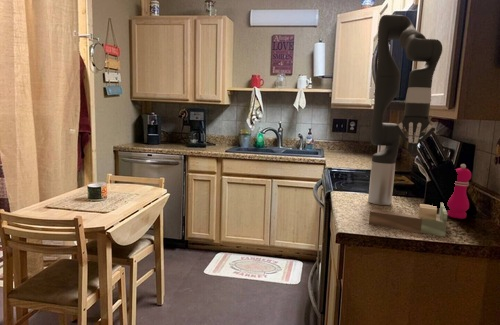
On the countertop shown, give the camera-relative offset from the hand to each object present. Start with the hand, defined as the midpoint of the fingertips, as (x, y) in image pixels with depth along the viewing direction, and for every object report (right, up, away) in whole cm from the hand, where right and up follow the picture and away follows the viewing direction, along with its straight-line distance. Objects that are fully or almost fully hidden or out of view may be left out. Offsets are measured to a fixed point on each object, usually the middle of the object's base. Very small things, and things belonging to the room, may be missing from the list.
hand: (411, 153), depth 124 cm
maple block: (+4, -22, -2) cm, 23 cm away
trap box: (-1, -24, +4) cm, 24 cm away
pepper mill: (+23, -23, +14) cm, 36 cm away
